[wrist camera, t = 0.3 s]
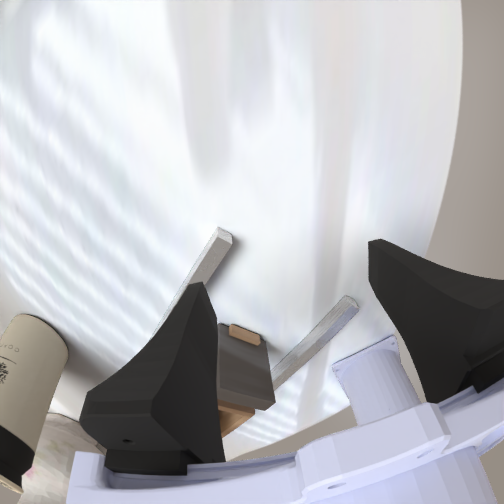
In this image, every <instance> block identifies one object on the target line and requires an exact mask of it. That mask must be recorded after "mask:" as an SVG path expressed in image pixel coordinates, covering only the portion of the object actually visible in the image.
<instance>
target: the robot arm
mask: <svg viewBox="0 0 504 504" xmlns="http://www.w3.org/2000/svg"><path fill="white" fill-rule="evenodd" d="M368 252H369V282H370V284H371V286H372V289H373V291H374V293H375V295H376V297H377V299H378V300H379V302H380V303H381V305H382V306H383V308H384V310H385V311H386V313H387V314H388V316H389V317H390V319H391V320H392V322H393V323H394V325H395V327H396V328H397V330H398V331H399V333H400V335H401V336H402V338H403V340H404V342H405V344H406V346H407V349H408V351H409V353H410V355H411V358H412V360H413V363H414V365H415V368H416V370H417V373H418V375H419V378H420V381H421V384H422V387H423V390H424V393H425V397H426V400H427V402H424V403H421V402H420V400H419V398H418V396H417V394H416V392H415V390H414V388H413V386H412V384H411V382H410V380H409V378H408V376H407V374H406V372H405V370H404V368H403V366H402V364H401V360H400V354H399V350H398V344H397V339H396V337H395V336H391V337H389V338H387V339H385V340H383V341H381V342H379V343H377V344H375V345H373V346H371V347H369V348H367V349H365V350H363V351H361V352H359V353H357V354H354V355H352V356H350V357H348V358H346V359H344V360H341V361H339V362H337V363H335V364H333V365H332V370H333V372H334V373H335V375H336V377H337V379H338V381H339V383H340V384H341V386H342V388H343V390H344V392H345V393H346V395H347V397H348V399H349V401H350V404H351V407H352V409H353V412H354V415H355V418H356V421H357V424H358V426H356V427H353V428H350V429H346V430H343V431H340V432H336V433H332V434H329V435H327V436H324V437H321V438H318V439H315V440H313V441H311V442H309V443H308V444H306V445H304V446H303V447H301V448H300V449H299V450H298V451H296V452H291V453H286V454H281V455H275V456H269V457H263V458H257V459H249V460H241V461H233V462H226V460H225V455H224V449H223V443H222V436H221V429H220V420H219V411H218V401H217V387H216V378H217V356H218V327H217V317H216V314H215V312H214V309H213V307H212V304H211V302H210V299H209V297H208V294H207V291H206V289H205V286H204V284H203V281H202V282H197V283H193V284H189V285H188V286H187V288H186V290H185V291H184V293H183V294H182V296H181V297H180V299H179V301H178V302H177V304H176V305H175V307H174V308H173V310H172V312H171V313H170V315H169V316H168V317H167V319H166V320H165V322H164V323H163V324H162V326H161V327H160V328H159V330H158V331H157V332H156V334H155V335H154V336H153V337H152V339H151V340H150V341H149V342H148V343H147V344H146V345H145V346H144V348H143V349H142V350H141V351H140V352H139V353H138V354H137V355H135V356H134V357H133V358H132V359H131V360H130V361H129V362H128V363H127V364H126V365H125V366H124V367H122V368H121V369H120V370H119V371H118V372H116V373H115V374H114V375H112V376H111V377H110V378H108V379H107V380H106V381H104V382H103V383H101V384H99V385H98V386H96V387H95V388H93V389H92V390H90V391H88V392H87V395H86V398H85V401H84V405H83V408H82V412H81V415H80V419H79V422H80V425H81V427H82V428H83V430H84V431H85V432H86V433H87V434H88V435H89V436H91V437H92V438H93V439H95V440H96V441H97V442H98V443H100V444H101V445H102V446H104V447H105V448H106V449H107V453H106V456H105V455H102V454H98V453H91V452H83V451H76V452H75V457H74V461H73V466H72V471H71V476H70V481H69V487H68V493H67V499H66V504H498V503H497V500H496V498H495V495H494V493H493V490H492V487H491V485H490V483H489V480H488V478H487V475H486V473H485V471H484V468H483V466H482V464H481V461H480V459H479V457H480V456H481V455H483V454H484V453H486V452H487V451H489V450H490V449H491V448H493V447H494V446H496V445H497V444H498V443H500V442H501V441H502V440H503V439H504V280H497V279H491V278H484V277H479V276H474V275H470V274H466V273H462V272H459V271H455V270H452V269H449V268H446V267H443V266H440V265H438V264H436V263H433V262H431V261H428V260H426V259H424V258H422V257H420V256H417V255H415V254H413V253H411V252H409V251H407V250H405V249H403V248H401V247H399V246H397V245H394V244H392V243H390V242H388V241H386V240H383V239H377V240H373V241H369V242H368Z"/></svg>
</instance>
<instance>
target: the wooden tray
mask: <svg viewBox="0 0 504 504" xmlns="http://www.w3.org/2000/svg"><path fill="white" fill-rule="evenodd" d="M217 327H218V356H217V378H216V387H217V401H218V411H219V420H220V429H221V436H222V438H223V437H225V436H226V435H227V434H229V433H230V432H232V431H233V430H234V429H236V428H237V427H239V426H240V425H241V424H243V423H244V422H245V421H247V420H248V419H249V418H251V417H252V416H253V415H255V409H259V410H264V411H265V410H267V409H268V408H269V407H271V406H272V405H273V404H274V403H276V401H275V395H274V389H273V383H272V377H271V371H270V365H269V359H268V354H267V348H266V342H265V341H263V340H261V339H260V336H259V335H258V334H255V333H253V332H250V331H248V330H245V329H242V328H240V327H237V326H235V325H233V324H231V325H230V326H229V327H227V326H225V325H222V324H220V323H219V324H218V325H217ZM254 408H255V409H254Z"/></svg>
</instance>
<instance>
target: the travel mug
mask: <svg viewBox="0 0 504 504" xmlns="http://www.w3.org/2000/svg"><path fill="white" fill-rule="evenodd" d="M67 359H68V349H67V347H66V345H65V343H64V341H63V340H62V338H61V337H60V336H59V335H58V334H57V333H56V331H54V330H53V329H52V328H51V327H50V326H49V325H47V324H46V323H44V322H43V321H41V320H39V319H38V318H35V317H33V316H30V315H25V314H21V315H17V316H15V317H14V318H13V320H12V321H11V323H10V324H9V326H8V328H7V329H6V331H5V332H4V334H3V336H2V337H1V339H0V484H2V485H3V486H5V487H7V488H9V489H11V490H13V491H15V492H18V493H20V494H23V493H24V491H23V489H22V475H24V474H25V473H26V472H27V471H28V470H29V469H30V468H32V464H33V460H34V456H35V453H36V449H37V445H38V442H39V438H40V435H41V432H42V428H43V425H44V422H45V419H46V416H47V413H48V410H49V407H50V404H51V401H52V398H53V395H54V393H55V390H56V387H57V384H58V382H59V379H60V377H61V374H62V371H63V369H64V366H65V364H66V361H67Z"/></svg>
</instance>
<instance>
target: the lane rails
mask: <svg viewBox="0 0 504 504" xmlns="http://www.w3.org/2000/svg"><path fill="white" fill-rule="evenodd" d="M231 246H232V234H230V233H228V232H226V231H224V230H222V229H220V228H218V227H217V229H216V231H215V232H214V234H213V235H212V237H211V238H210V240H209V242H208V243H207V245H206V246H205V248H204V250H203V251H202V253H201V254H200V256H199V258H198V259H197V261H196V263H195V264H194V266H193V267H192V269H191V271H190V272H189V274H188V276H187V277H186V279H185V281H184V282H183V284H182V286H181V287H180V289H179V291H178V292H177V294H176V296H175V297H174V299H173V301H172V302H171V304H170V306H169V307H168V309H167V311H166V312H165V314H164V316H163V318H162V319H161V321H160V323H159V324H158V326H157V328H156V330H155V331H154V333H153V335H152V337H153V336H154V335H155V334H156V332H157V331H158V330H159V328H160V327H161V326H162V324H163V323H164V322H165V320H166V319H167V317H168V316H169V315H170V313H171V312H172V310H173V308H174V307H175V305H176V304H177V302H178V301H179V299H180V297H181V296H182V294H183V293H184V291H185V290H186V288H187V286H188V285H189V284H193V283H197V282H202V281H203V284H204V286H205V285H206V283H207V282H208V280H209V278H210V277H211V275H212V274H213V272H214V271H215V270H216V268H217V267H218V265H219V264H220V262H221V261H222V259H223V258H224V256H225V255H226V253H227V252H228V250H229V249H230V247H231ZM358 311H359V308H358V306H357V304H356V302H355V300H354V299H352V298H350V297H348V296H346V295H345V296H344V297H343V298H342V299H341V300H340V301H339V303H338V304H337V305H336V306H335V307H334V308H333V309H332V310H331V311H330V312H329V313H328V314H327V315H326V316H325V318H324V319H323V320H322V321H321V322H320V323H319V324H318V325H317V326H316V327H315V328H314V329H313V330H312V331H311V332H310V333H309V334H308V335H307V336H306V337H305V338H304V339H303V340H302V341H301V342H300V343H299V344H298V345H297V346H296V347H295V348H294V349H293V350H292V351H291V352H290V353H289V354H288V355H287V356H286V357H285V358H284V359H283V360H282V361H281V362H280V363H279V364H278V365H277V366H275V367H274V368H273V369H272V370H271V377H272V383H273V389H274V390H276V389H277V388H278V387H279V386H280V385H281V384H283V383H284V382H285V381H286V380H287V379H288V378H289V377H291V376H292V375H293V374H294V373H295V372H296V371H297V370H299V369H300V368H301V367H302V366H303V365H304V364H305V363H306V362H307V361H308V360H309V359H311V358H312V357H313V356H314V355H315V354H316V353H317V352H318V351H319V350H320V349H321V348H322V347H323V346H324V345H325V344H326V343H327V342H328V341H329V340H331V339H332V338H333V337H334V336H335V335H336V334H337V333H338V332H339V331H340V330H341V329H342V328H343V327H344V326H345V325H346V324H347V323H348V321H349V320H350V319H351V318H352V317H353V316H354V315H355V314H356V313H357V312H358ZM152 337H151V338H150V340H151V339H152ZM150 340H149V341H150Z"/></svg>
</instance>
